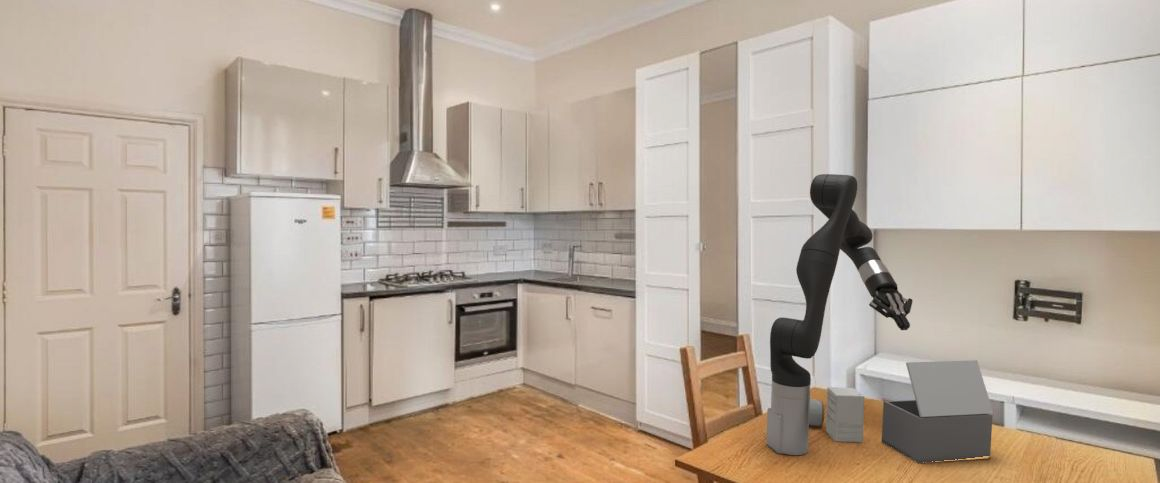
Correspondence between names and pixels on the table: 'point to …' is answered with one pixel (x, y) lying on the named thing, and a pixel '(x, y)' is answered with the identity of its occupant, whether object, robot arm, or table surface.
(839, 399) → the supplement box
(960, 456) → the storage box
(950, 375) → the lid
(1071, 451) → the table surface
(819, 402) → the ceramic mug
